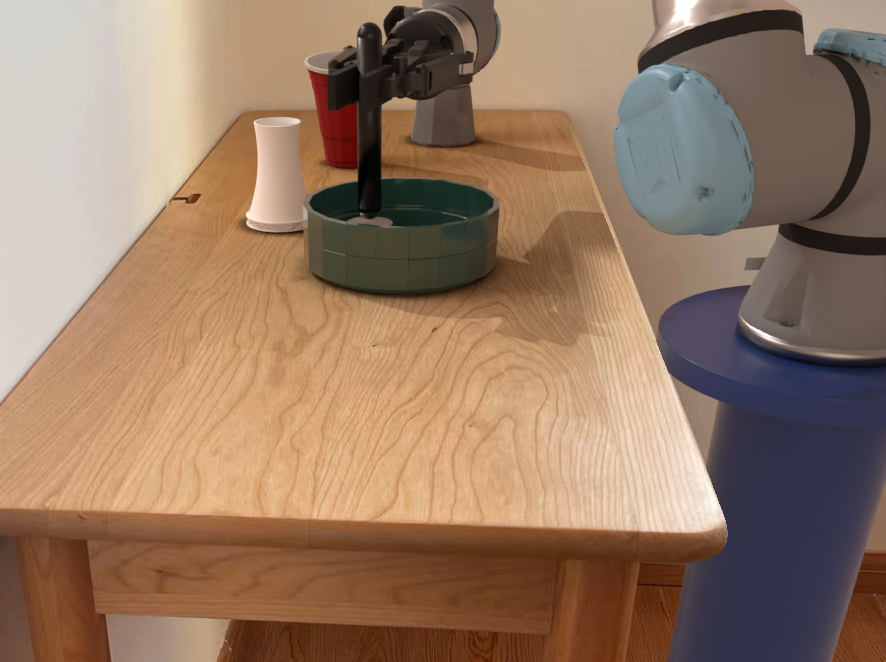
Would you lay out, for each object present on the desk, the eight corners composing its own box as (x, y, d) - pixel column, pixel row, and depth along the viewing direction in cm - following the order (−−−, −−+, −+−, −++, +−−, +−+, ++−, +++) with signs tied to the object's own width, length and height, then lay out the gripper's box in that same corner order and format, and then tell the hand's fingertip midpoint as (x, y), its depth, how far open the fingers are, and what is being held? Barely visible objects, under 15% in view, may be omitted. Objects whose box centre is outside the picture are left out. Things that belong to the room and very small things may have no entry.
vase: (243, 215, 124) (237, 115, 118) (311, 211, 125) (308, 112, 119) (250, 234, 118) (244, 130, 112) (321, 230, 119) (319, 127, 113)
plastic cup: (309, 174, 138) (306, 65, 131) (304, 154, 147) (301, 51, 140) (397, 172, 139) (399, 62, 132) (387, 152, 148) (388, 48, 141)
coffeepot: (499, 136, 155) (509, -17, 144) (478, 150, 148) (486, -9, 137) (395, 128, 160) (397, -20, 149) (370, 141, 153) (369, -13, 142)
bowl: (496, 241, 115) (501, 178, 111) (493, 300, 100) (498, 230, 97) (320, 237, 117) (318, 175, 113) (291, 294, 102) (289, 225, 99)
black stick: (394, 244, 110) (397, 18, 98) (390, 257, 106) (392, 25, 95) (349, 243, 110) (347, 18, 99) (343, 256, 107) (340, 25, 95)
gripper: (501, 98, 113) (432, 147, 95) (358, 91, 117) (267, 136, 100) (506, 12, 109) (435, 47, 91) (357, 7, 113) (262, 40, 95)
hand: (347, 93), depth 95 cm, fingers closed on black stick, 2 cm apart
